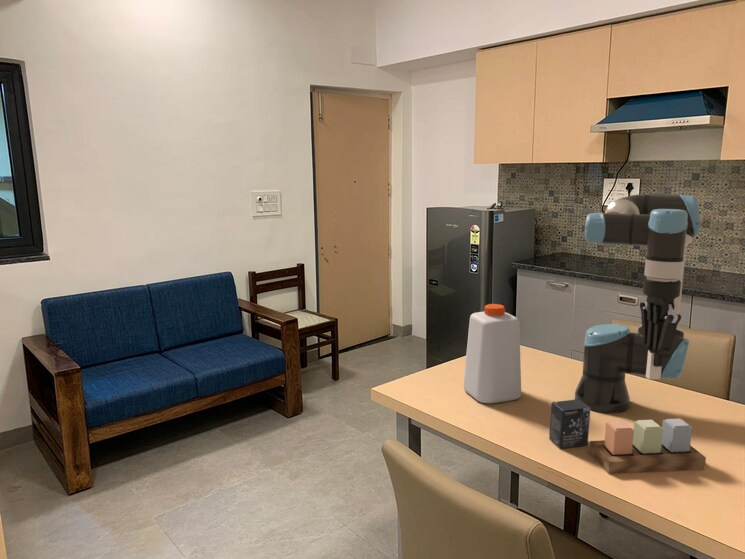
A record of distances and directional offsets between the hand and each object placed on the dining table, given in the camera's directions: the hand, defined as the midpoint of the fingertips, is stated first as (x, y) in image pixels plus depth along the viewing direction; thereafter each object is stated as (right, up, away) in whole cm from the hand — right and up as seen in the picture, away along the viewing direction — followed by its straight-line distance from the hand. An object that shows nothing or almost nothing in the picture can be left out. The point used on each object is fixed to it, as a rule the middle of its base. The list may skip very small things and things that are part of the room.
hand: (653, 377), depth 133 cm
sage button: (0, -17, +3) cm, 18 cm away
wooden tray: (0, -21, +4) cm, 21 cm away
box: (-15, -19, +13) cm, 28 cm away
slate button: (+7, -17, +4) cm, 19 cm away
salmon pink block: (-7, -18, +3) cm, 19 cm away
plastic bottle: (-28, -13, +44) cm, 54 cm away
